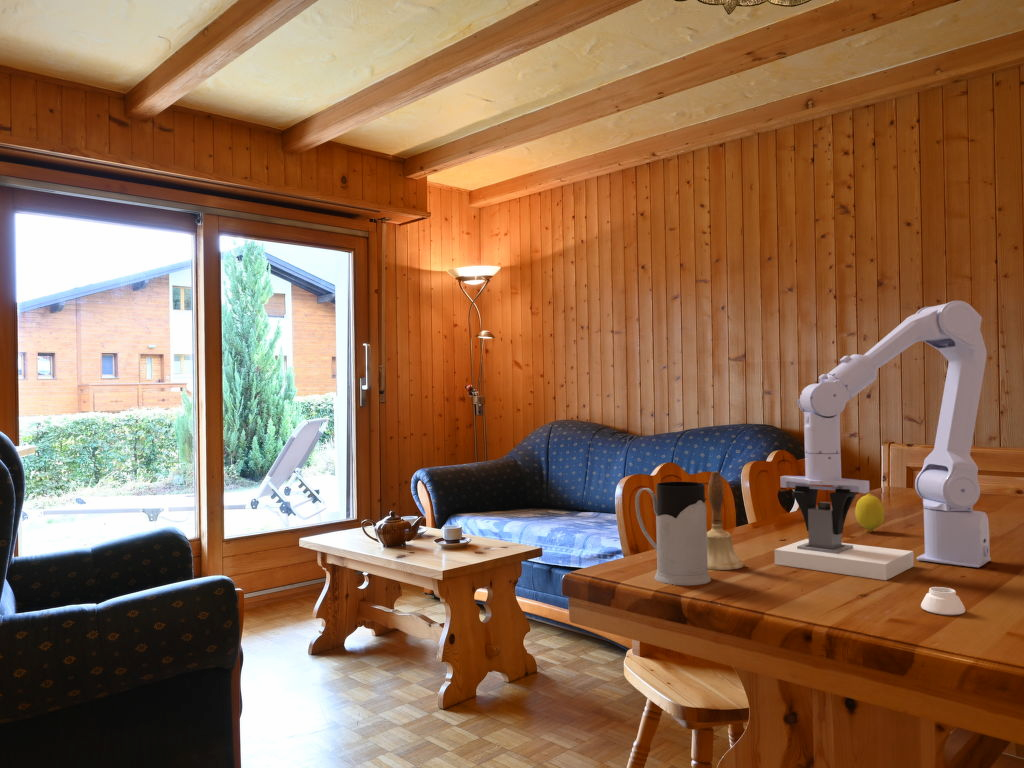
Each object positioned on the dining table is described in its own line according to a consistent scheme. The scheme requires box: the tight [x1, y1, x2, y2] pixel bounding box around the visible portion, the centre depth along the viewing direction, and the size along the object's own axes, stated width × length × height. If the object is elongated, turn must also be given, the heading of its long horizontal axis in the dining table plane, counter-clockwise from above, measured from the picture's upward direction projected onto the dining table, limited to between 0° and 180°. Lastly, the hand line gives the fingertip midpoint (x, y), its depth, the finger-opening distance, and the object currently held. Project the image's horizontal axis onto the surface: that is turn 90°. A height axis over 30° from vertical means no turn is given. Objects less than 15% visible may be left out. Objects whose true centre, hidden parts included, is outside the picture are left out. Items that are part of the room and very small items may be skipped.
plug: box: [807, 501, 843, 550], centre depth 131 cm, size 4×4×8 cm
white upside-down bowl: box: [920, 586, 966, 616], centre depth 101 cm, size 5×3×5 cm
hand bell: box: [707, 471, 745, 571], centre depth 131 cm, size 8×8×16 cm
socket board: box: [774, 538, 915, 581], centre depth 129 cm, size 18×13×3 cm
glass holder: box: [634, 481, 712, 586], centre depth 124 cm, size 9×14×15 cm, turn 36°
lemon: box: [854, 493, 885, 533], centre depth 160 cm, size 6×6×8 cm
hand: (824, 532), depth 131 cm, fingers closed on plug, 4 cm apart
